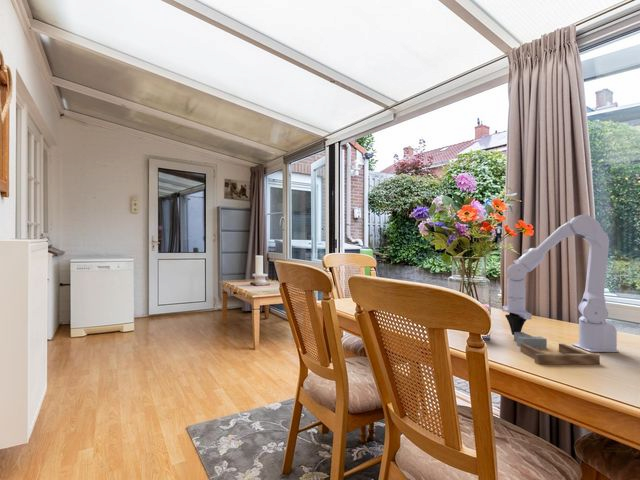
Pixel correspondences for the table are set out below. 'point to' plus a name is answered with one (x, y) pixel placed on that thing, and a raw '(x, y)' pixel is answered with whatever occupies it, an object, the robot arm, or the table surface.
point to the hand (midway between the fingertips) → (515, 335)
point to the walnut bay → (560, 355)
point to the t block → (530, 340)
